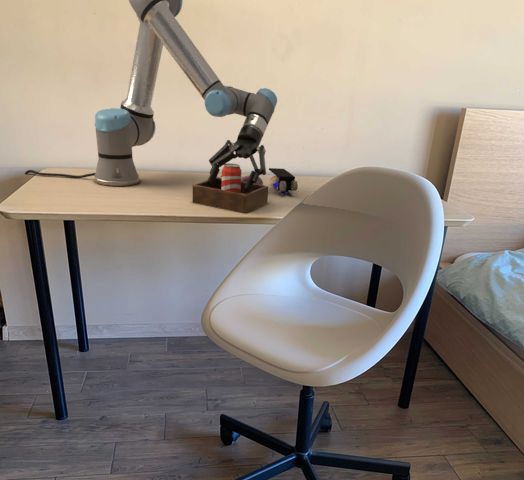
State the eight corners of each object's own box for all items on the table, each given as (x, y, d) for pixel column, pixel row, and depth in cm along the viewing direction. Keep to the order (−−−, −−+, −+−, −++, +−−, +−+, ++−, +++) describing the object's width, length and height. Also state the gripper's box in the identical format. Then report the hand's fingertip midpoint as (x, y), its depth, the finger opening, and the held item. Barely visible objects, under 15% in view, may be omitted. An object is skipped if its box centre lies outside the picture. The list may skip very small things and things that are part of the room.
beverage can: (233, 199, 172) (235, 162, 166) (243, 204, 167) (245, 166, 161) (217, 201, 169) (218, 163, 163) (227, 206, 164) (228, 167, 158)
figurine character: (297, 201, 182) (282, 186, 193) (300, 179, 177) (284, 166, 188) (280, 201, 180) (265, 186, 191) (282, 180, 175) (267, 166, 186)
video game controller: (235, 196, 183) (238, 180, 177) (233, 187, 185) (235, 171, 179) (262, 196, 185) (265, 180, 179) (259, 187, 188) (262, 171, 182)
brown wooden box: (192, 202, 165) (192, 184, 163) (217, 193, 178) (217, 177, 175) (245, 213, 158) (246, 195, 156) (267, 203, 171) (268, 186, 168)
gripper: (215, 120, 169) (190, 174, 165) (283, 129, 160) (259, 186, 156) (223, 136, 176) (199, 187, 172) (288, 145, 167) (265, 200, 163)
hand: (228, 187), depth 164 cm, fingers open, 13 cm apart
